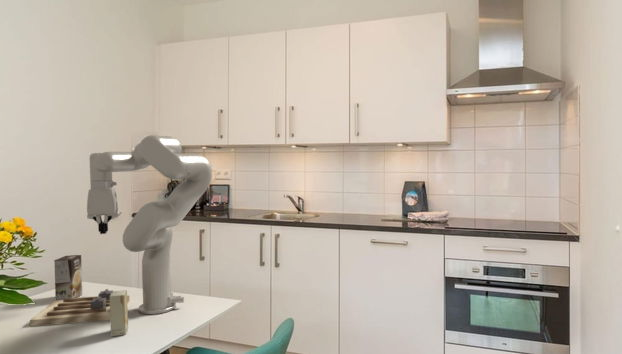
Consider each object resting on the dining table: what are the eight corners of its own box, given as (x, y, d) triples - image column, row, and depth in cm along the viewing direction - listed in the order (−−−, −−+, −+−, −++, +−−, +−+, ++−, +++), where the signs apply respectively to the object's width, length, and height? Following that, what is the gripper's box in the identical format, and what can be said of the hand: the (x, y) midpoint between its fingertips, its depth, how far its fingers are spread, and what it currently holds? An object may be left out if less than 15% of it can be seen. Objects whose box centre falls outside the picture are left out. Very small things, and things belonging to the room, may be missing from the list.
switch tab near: (106, 306, 150) (105, 296, 150) (103, 309, 147) (102, 299, 146) (93, 307, 149) (93, 296, 149) (90, 310, 146) (90, 300, 146)
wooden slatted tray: (129, 300, 163) (129, 292, 163) (115, 319, 143) (115, 310, 143) (54, 306, 158) (54, 298, 158) (30, 326, 139) (29, 317, 138)
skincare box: (126, 335, 130) (124, 295, 130) (110, 337, 129) (109, 296, 128) (128, 327, 136) (127, 289, 136) (113, 329, 135) (112, 290, 135)
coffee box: (72, 301, 163) (71, 259, 163) (55, 302, 163) (53, 260, 162) (82, 294, 172) (81, 254, 172) (66, 295, 172) (64, 255, 171)
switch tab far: (113, 298, 159) (112, 288, 159) (110, 301, 155) (110, 291, 155) (101, 299, 158) (101, 289, 158) (98, 302, 155) (98, 292, 155)
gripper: (124, 184, 168) (126, 230, 169) (82, 185, 165) (84, 233, 165) (120, 185, 161) (122, 233, 162) (77, 186, 157) (79, 236, 158)
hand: (103, 233), depth 163 cm, fingers closed
